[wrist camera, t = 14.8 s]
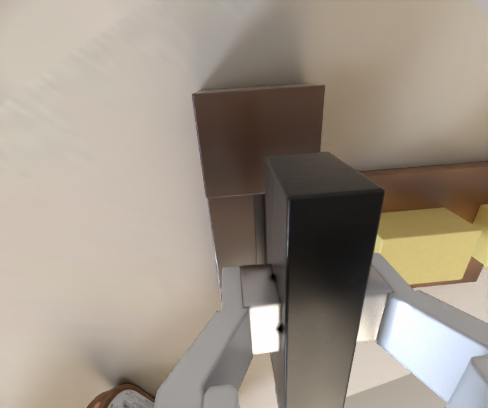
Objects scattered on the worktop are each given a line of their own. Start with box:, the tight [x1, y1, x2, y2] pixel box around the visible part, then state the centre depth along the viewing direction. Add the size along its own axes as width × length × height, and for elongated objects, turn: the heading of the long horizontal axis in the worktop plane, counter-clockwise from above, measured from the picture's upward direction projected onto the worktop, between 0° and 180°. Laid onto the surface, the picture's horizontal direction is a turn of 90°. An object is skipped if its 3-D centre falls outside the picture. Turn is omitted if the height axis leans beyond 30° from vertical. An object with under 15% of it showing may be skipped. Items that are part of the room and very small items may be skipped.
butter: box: [374, 207, 482, 285], centre depth 20 cm, size 4×7×4 cm, turn 94°
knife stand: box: [192, 83, 325, 302], centre depth 19 cm, size 18×7×4 cm, turn 3°
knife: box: [265, 152, 385, 408], centre depth 11 cm, size 16×2×6 cm, turn 3°
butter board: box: [359, 161, 488, 288], centre depth 22 cm, size 12×14×1 cm
